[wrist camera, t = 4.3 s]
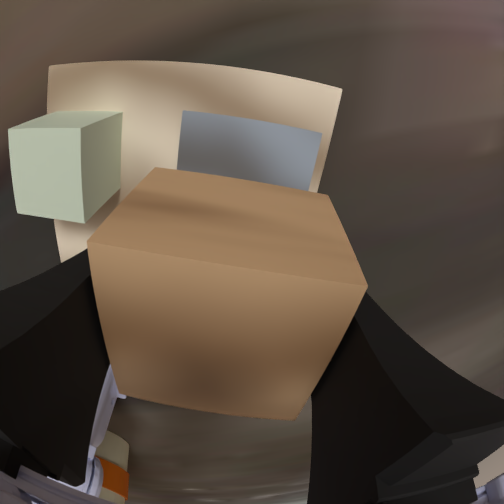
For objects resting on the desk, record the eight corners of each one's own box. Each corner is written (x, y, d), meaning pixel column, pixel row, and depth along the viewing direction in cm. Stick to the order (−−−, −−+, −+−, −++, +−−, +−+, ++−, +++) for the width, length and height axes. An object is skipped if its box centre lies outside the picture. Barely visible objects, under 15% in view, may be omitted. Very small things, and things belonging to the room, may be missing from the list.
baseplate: (270, 336, 24) (270, 347, 23) (77, 300, 23) (71, 309, 22) (337, 88, 14) (342, 89, 13) (58, 65, 13) (48, 66, 12)
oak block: (288, 320, 12) (294, 420, 9) (153, 299, 12) (119, 393, 8) (328, 195, 10) (367, 286, 6) (155, 166, 9) (86, 241, 5)
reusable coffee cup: (53, 412, 36) (24, 490, 24) (116, 423, 35) (91, 519, 22) (92, 447, 43) (74, 515, 30) (152, 457, 42) (138, 535, 29)
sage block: (120, 187, 17) (84, 223, 13) (59, 181, 16) (17, 212, 13) (122, 111, 14) (80, 128, 11) (57, 111, 14) (8, 129, 10)
